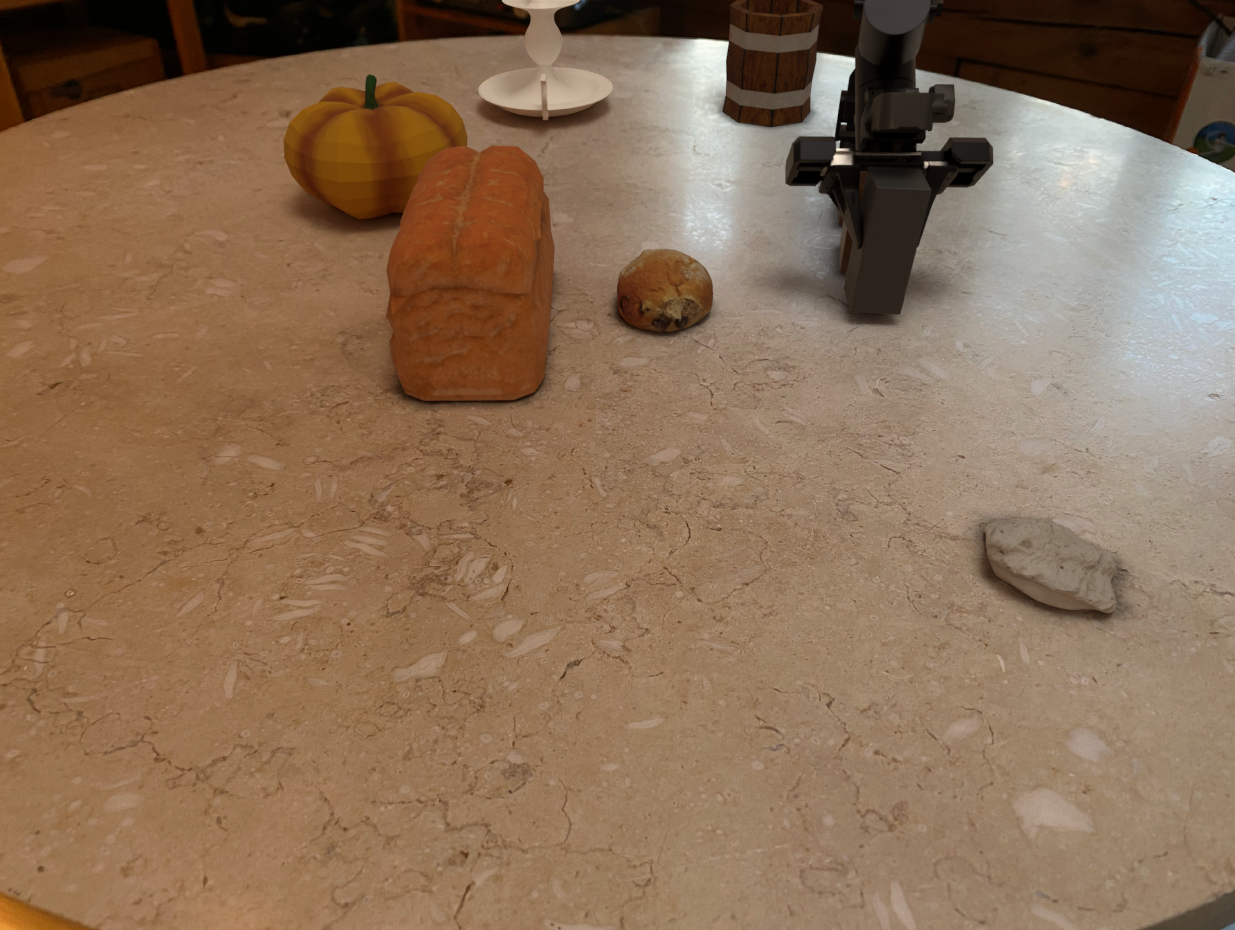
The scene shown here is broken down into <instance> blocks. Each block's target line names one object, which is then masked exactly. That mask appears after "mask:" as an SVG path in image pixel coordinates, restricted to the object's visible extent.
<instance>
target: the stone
mask: <svg viewBox="0 0 1235 930" xmlns="http://www.w3.org/2000/svg"><path fill="white" fill-rule="evenodd" d="M983 532H984V534H985V549H986V555H987V559H988V561H989V563H990V567H991V568H992V571H993V574H995V576H996V577H998V578H999V579H1001V580H1002V581H1004V582H1006V583H1008V584H1009V585H1011V586H1012V587H1014V588H1015V589H1017V590H1018V591H1019V592H1021V593H1023V594H1025V595H1026V596H1028V597H1030V598H1031V599H1033V600H1035V601H1036V602H1040V603H1043V604H1045V605H1046V606H1047V605H1048V606H1052V607H1055V608H1058V609H1063V610H1064V609H1065V610H1070V611H1071V610H1073V611H1079V610H1093V611H1097V612H1101V613H1103V614H1111V613H1113V612H1114V611H1115V609H1116V608H1117V607H1116V605H1117V603H1118V602H1117V600H1116V595H1115V592H1114V588H1113V585H1112V579H1113V578H1114V576H1115V575H1116V574H1117V566H1116V563H1115V561H1114V557H1113V555H1112V554H1111V553H1110V552H1109V551H1107V550H1106V549H1104V548H1103V547H1101V546H1100V545H1098V544H1096V543H1094V542H1093V541H1088V540H1086V539H1083V538H1082V537H1080V536H1078V535H1077V534H1076V533H1075V532H1074V530H1072V529H1071V528H1070V527H1068V526H1065V525H1064V524H1060V523H1057V522H1055V521H1054V520H1053V519H1052V518H1051V517H1050V518H1046V517H1025V518H1024V517H1015V518H1005V519H1002V520H1001V519H998V520H995V521H992V522H990V523H988V524H987V525H986V526H985V527H984V531H983Z"/></svg>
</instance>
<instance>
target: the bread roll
mask: <svg viewBox="0 0 1235 930" xmlns="http://www.w3.org/2000/svg"><path fill="white" fill-rule="evenodd" d="M617 279H618V280H617V284H616V299H617V308H618V313H619V315H620V316H621V317H622V318H623V320H624V321H625V322H626V323H627V324H628V325H631V326H632V327H634V328H637V329H641V330H646V331H650V332H651V331H652V332H656V333H661V332H665V333H666V332H667V333H671V332H676V331H681V330H684V329H687V328H690V327H692V326H693V325H695V324H696V323H698V322H699V321H701V320H703V319H704V318H705V317H706V316H707V314H709V312H711V310H712V306H713V301H714V283H713V280H712V277H711V275H710V273H709V271H708V269H707V268H706V267H705V265H703V264H702V263H701V262H700V261H699V260H697V259H696V258H694V257H692V256H691V255H689V254H686V253H685V252H683V251H681V250H680V251H679V250H676V249H670V248H655V249H652V248H651V249H643V250H642V252H641V253H640V255H638V256H636V257H635V258H634V259H633V260H632V261H630V263H628V264H627V265H626V266H624V267H623V269H622V270H621V271H620V272H619V275H618V278H617Z"/></svg>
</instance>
